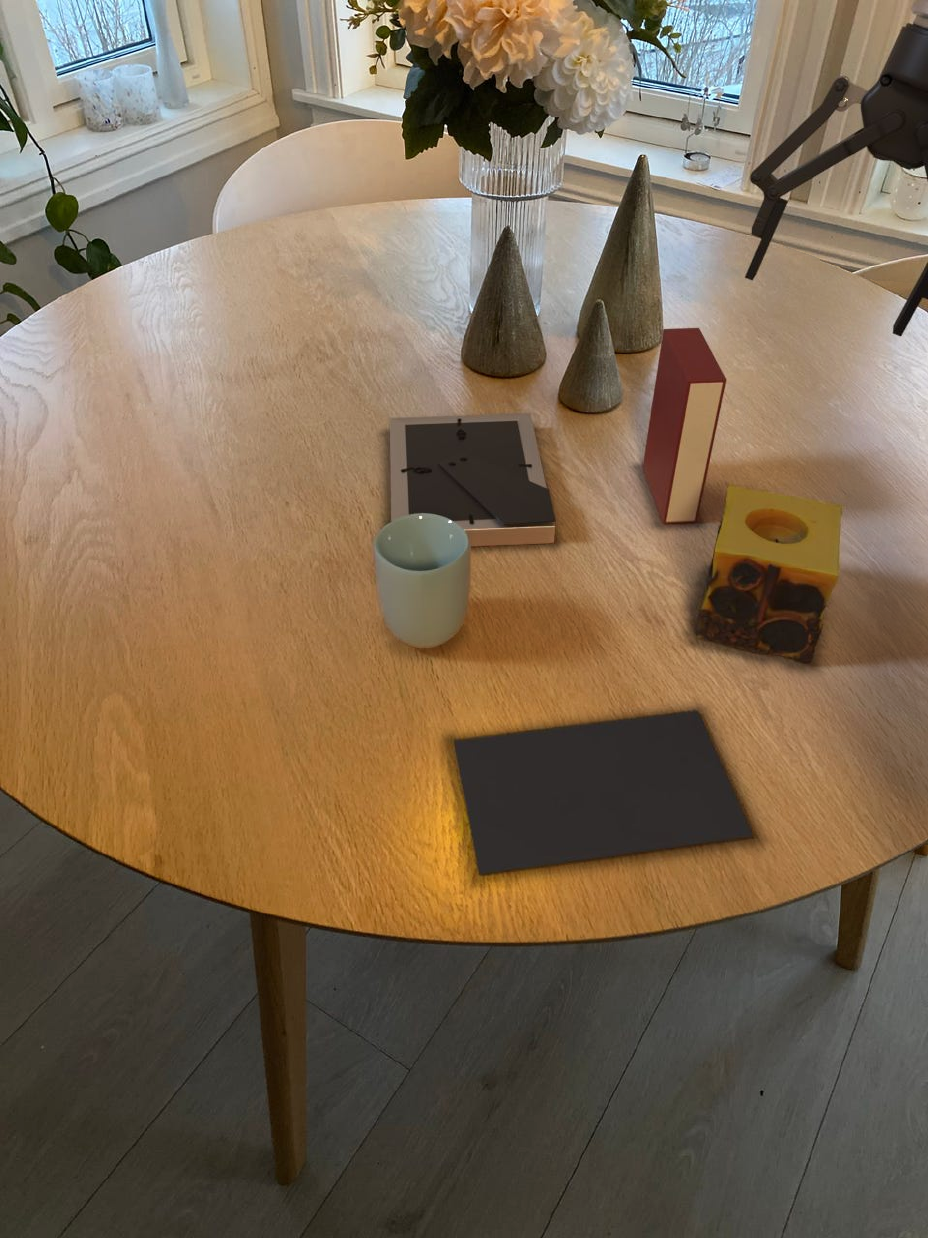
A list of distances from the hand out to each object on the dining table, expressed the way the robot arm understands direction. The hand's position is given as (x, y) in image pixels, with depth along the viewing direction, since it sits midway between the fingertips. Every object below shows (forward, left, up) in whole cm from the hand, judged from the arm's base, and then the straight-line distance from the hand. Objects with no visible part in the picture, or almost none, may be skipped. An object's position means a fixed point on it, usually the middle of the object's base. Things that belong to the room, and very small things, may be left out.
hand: (822, 303), depth 85 cm
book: (+9, +6, -21) cm, 23 cm away
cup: (+17, +37, -21) cm, 46 cm away
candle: (-6, +18, -21) cm, 28 cm away
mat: (-4, +43, -21) cm, 48 cm away
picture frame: (+27, +17, -21) cm, 38 cm away
